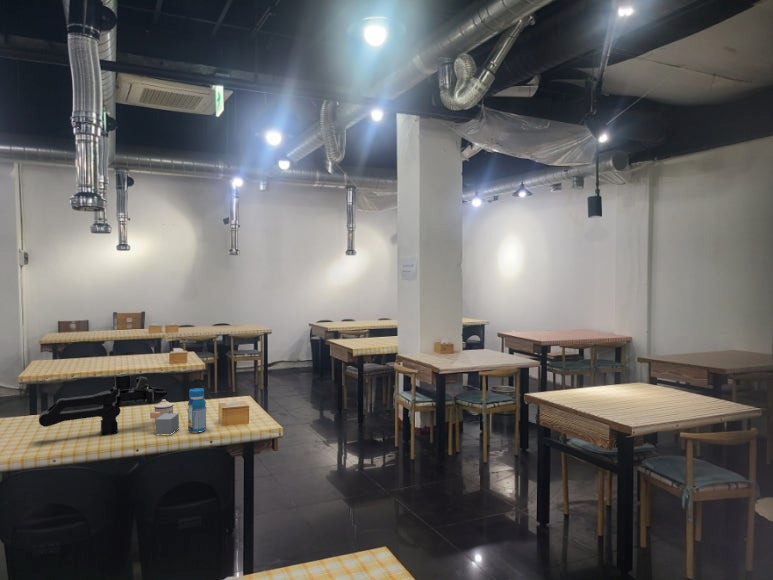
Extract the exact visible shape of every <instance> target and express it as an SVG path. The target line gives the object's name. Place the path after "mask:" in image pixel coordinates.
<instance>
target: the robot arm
mask: <svg viewBox="0 0 773 580" xmlns="http://www.w3.org/2000/svg"><path fill="white" fill-rule="evenodd" d="M131 376H132V375H131V373H121V374H118V375H114V384H115V385H114V386H113V387H111V388H110V389H109V390H105V391H101V392H98V393H95V394H91V395H83V396H73V397H62V398H59V399H57V400H56V402H55V403H54V404H52V405H51V406H50V407H49V408H48V409H47V410H43V411H42V412H41V413H40V414H39V416H38V423H39V425H40V426H41V427H44V428H45V427H50V426H54V425H58V424H60V423H63V422H67V421H74V420H75V421H76V420H84V419H91V418H101V419H100V430H99V433H100V435H101V436H106V435H108V436H109V435H114V434H118V431H119V429H118V428H119V426H118V425H119V423H118V421H117V417H118V416H119V415H120V414H121V412H122V411H121V408H120V407H122V405H121V403H127V402H128V403H129V402H134V403H135V402H136V403H137V402H139V401H144V402H145V403H147V404H150V405H151V404H153V403H155V402H156V401H158V400H159V399H161V398H163V397H165V396H166V395H168V391H165V389H164V388H160V387H152V386H151V385H150V384H147V383H148V380H149V379H148V377H145V376H138V377H136V379H135V382H136V387H133V388H131V389H130V387H131V386H132V383H131V382H132V377H131ZM90 405H99V406H98V407H91V408H83V409H76V410H74V409H73V410H67V411H63V410H64V409H67V408H72V407H80V406H90Z"/></svg>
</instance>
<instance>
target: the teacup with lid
mask: <svg viewBox="0 0 773 580" xmlns="http://www.w3.org/2000/svg"><path fill="white" fill-rule="evenodd" d="M153 408H154V412H161V415H163V414H164V413H174V403H173V402H169V401H167V400H166V399H161V401H160V402H158V403H156V404H155V405H154V407H153ZM156 419H157V418H154V424H155V425H156Z"/></svg>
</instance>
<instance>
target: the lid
mask: <svg viewBox="0 0 773 580" xmlns="http://www.w3.org/2000/svg"><path fill="white" fill-rule="evenodd" d="M149 415H150V416H149V419H155V418H157V419H156V420H172V419H173V418H175V417H176V416H177V415H179V413H178V412H177V413H175V412H173V413H164V414H163V415H161V412H155V411H151V412H150V413H149Z"/></svg>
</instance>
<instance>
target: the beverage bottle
mask: <svg viewBox="0 0 773 580" xmlns="http://www.w3.org/2000/svg"><path fill="white" fill-rule="evenodd" d="M188 392H189V393H188V396H189V400H188V401H187V406H188V408H187V431H189V432H188V433H190V432H199V431H204V430H205V431H207V406H206V405H207V401H206V399H205V389H204V388H203V387H202V388H201V387H196V388H191V389H189V391H188ZM205 431H204V432H205Z"/></svg>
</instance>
